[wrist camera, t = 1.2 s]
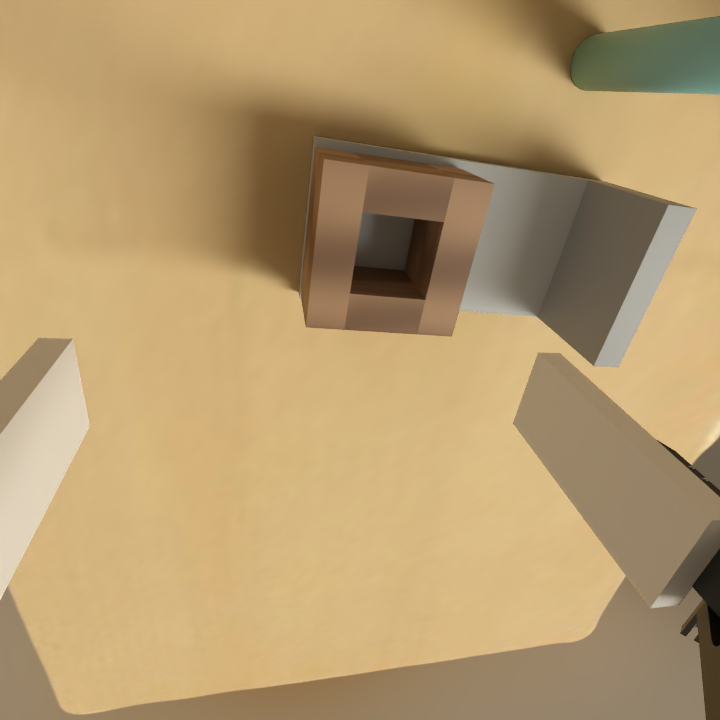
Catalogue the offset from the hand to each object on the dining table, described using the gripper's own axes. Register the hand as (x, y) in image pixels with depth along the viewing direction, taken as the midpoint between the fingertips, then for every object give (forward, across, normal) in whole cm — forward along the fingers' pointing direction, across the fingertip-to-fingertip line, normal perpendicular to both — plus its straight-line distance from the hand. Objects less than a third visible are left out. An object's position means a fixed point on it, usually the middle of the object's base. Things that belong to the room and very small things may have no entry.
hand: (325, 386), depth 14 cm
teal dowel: (+22, +20, +12) cm, 32 cm away
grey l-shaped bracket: (+22, +12, -1) cm, 25 cm away
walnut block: (+21, +6, -1) cm, 22 cm away
